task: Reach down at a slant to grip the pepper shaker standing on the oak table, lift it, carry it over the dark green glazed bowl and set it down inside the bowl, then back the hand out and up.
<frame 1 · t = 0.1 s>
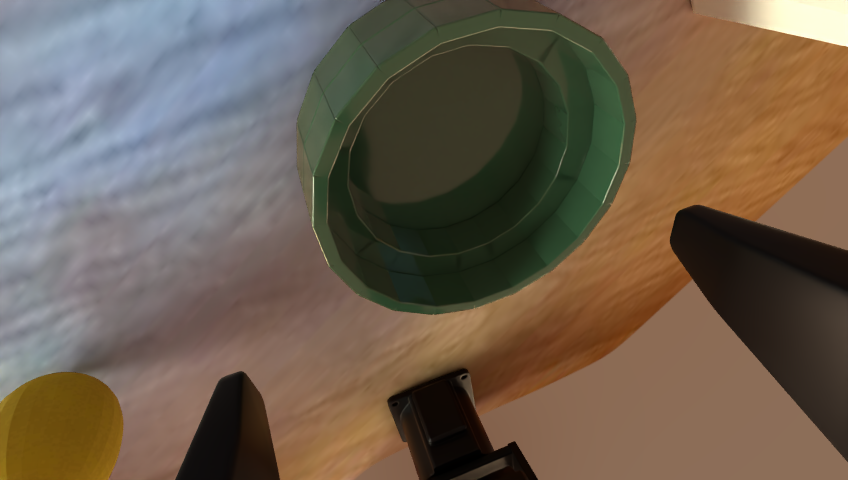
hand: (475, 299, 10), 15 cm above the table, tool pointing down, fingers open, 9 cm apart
lemon: (71, 371, 26), on the table
bowl: (441, 136, 24), on the table
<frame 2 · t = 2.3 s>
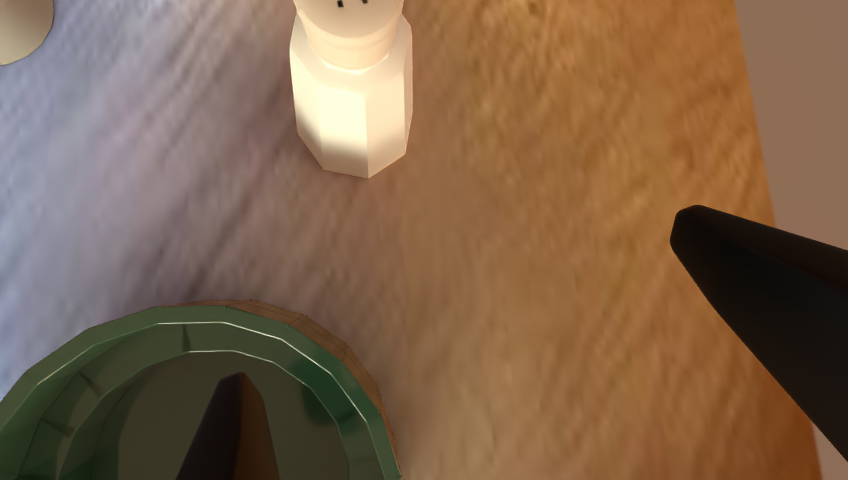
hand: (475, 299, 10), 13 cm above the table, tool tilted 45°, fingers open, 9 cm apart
bowl: (228, 464, 21), on the table
pepper shaker: (356, 124, 23), on the table
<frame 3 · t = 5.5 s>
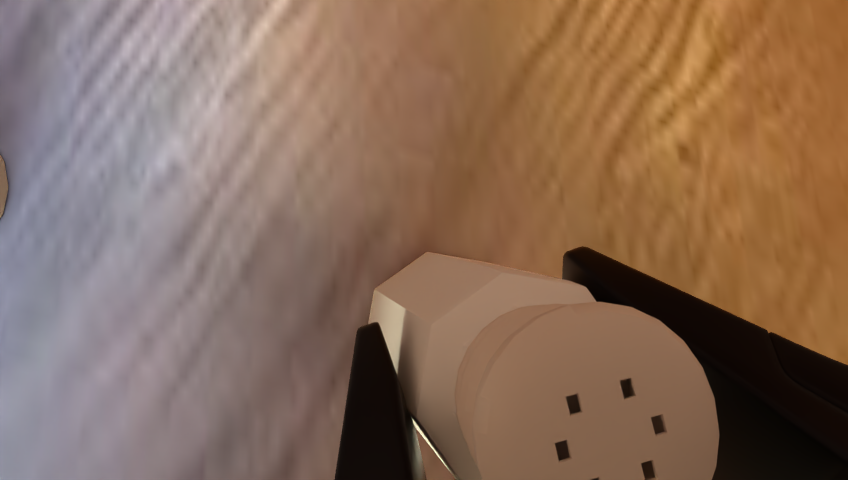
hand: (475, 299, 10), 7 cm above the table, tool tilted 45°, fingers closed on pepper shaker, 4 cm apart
pepper shaker: (443, 332, 16), on the table, touching gripper
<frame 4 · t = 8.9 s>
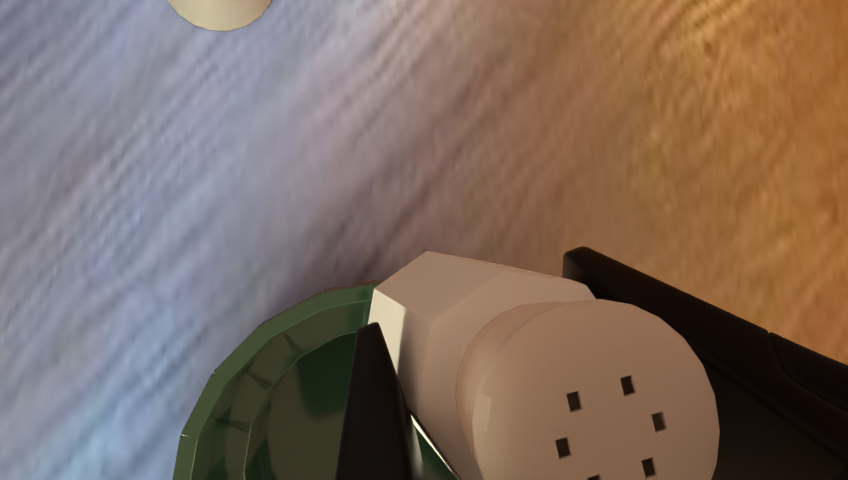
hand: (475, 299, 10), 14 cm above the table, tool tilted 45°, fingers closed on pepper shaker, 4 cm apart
bowl: (379, 438, 22), on the table
pepper shaker: (443, 332, 16), point 7 cm above the table, touching gripper
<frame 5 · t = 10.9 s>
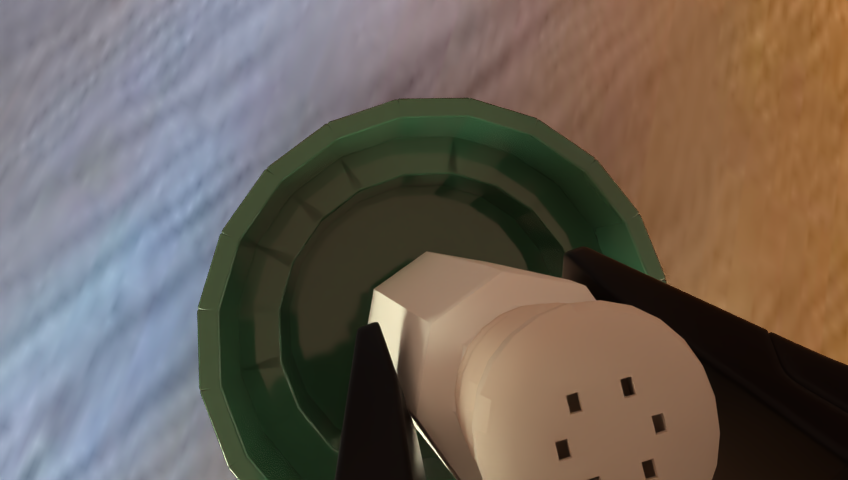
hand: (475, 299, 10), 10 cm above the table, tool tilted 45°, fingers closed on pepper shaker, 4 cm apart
bowl: (426, 317, 20), on the table
pepper shaker: (443, 332, 16), point 4 cm above the table, touching gripper
when the fingers open (7 cm above the table, at t = 12.2 s): pepper shaker stays where it is, resting on bowl.
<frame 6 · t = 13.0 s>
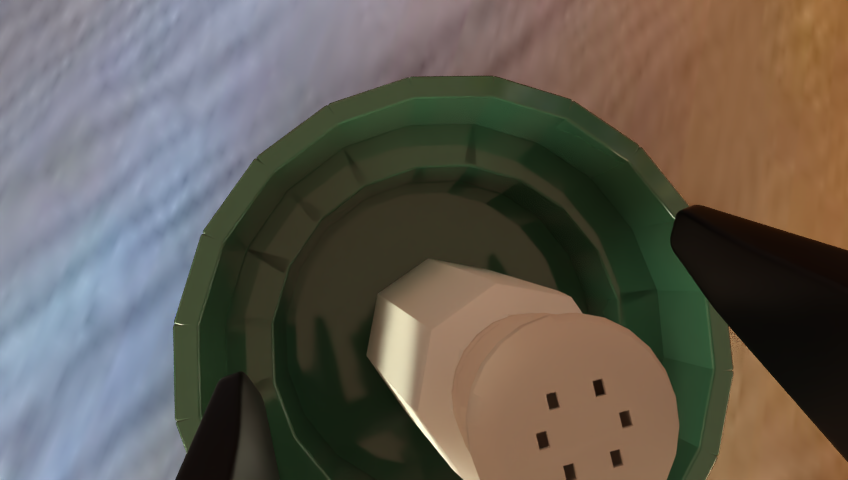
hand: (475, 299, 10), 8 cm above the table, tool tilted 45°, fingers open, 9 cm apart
bowl: (440, 330, 18), on the table
pepper shaker: (443, 335, 17), resting on bowl
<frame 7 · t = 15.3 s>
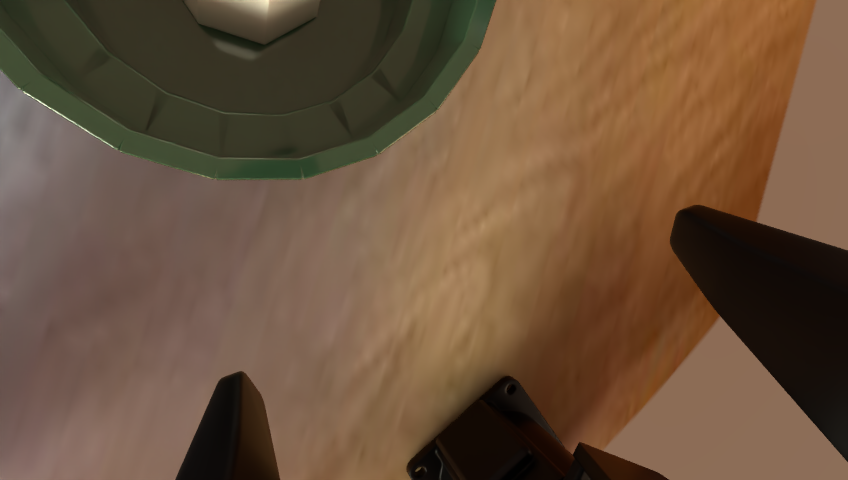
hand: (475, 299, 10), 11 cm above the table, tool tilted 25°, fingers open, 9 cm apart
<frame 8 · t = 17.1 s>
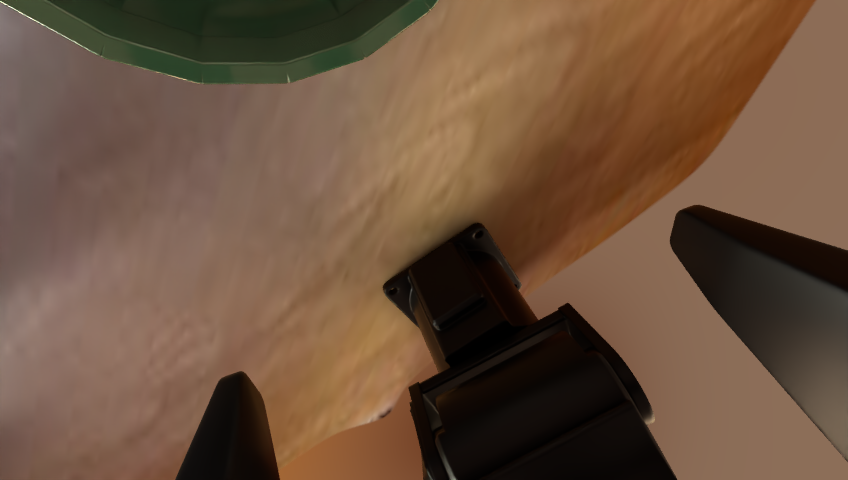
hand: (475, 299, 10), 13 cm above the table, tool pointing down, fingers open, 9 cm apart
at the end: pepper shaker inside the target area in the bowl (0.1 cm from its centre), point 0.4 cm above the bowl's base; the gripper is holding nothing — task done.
